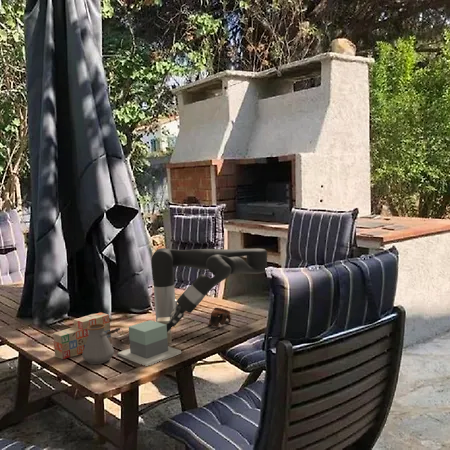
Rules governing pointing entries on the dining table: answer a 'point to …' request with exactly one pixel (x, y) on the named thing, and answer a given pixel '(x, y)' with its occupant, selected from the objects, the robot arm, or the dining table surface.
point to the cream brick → (165, 321)
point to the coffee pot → (98, 345)
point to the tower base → (148, 343)
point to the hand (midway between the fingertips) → (164, 328)
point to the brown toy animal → (221, 319)
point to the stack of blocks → (78, 335)
